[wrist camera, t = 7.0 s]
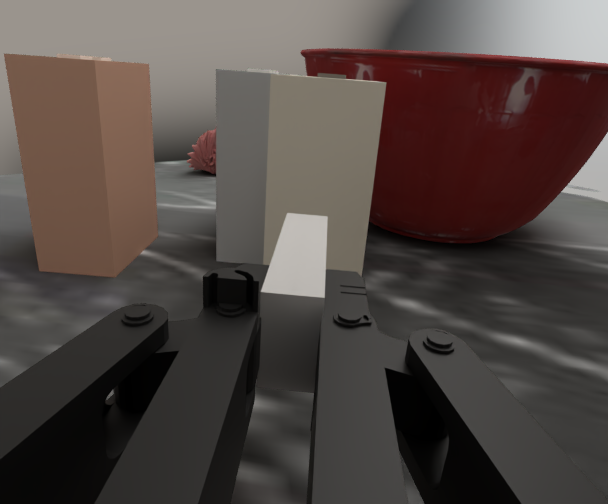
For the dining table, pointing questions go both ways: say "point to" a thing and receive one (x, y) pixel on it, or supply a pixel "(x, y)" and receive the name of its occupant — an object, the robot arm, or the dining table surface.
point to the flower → (204, 153)
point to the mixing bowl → (473, 136)
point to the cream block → (323, 159)
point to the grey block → (241, 163)
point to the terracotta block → (85, 159)
